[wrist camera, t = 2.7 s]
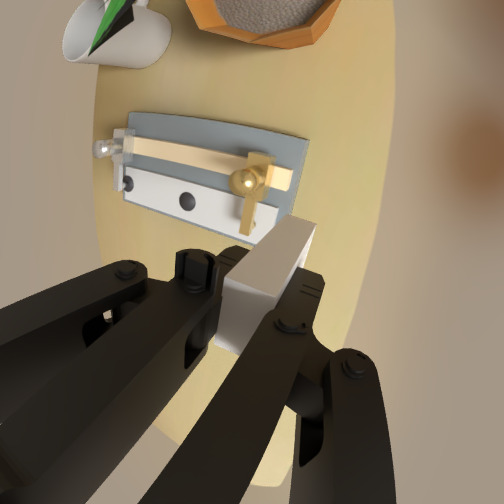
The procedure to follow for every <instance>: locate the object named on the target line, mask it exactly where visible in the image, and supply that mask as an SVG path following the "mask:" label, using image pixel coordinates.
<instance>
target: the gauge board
mask: <svg viewBox="0 0 504 504" xmlns="http://www.w3.org/2000/svg"><path fill="white" fill-rule="evenodd" d="M127 128H130V129H136V130H135V139H134V150H133V161H131V162H126V163H124V177H123V182H125V181H127V182H128V187H126V188H123V200H124V201H127V202H129V203H132V204H135V205H138V206H141V207H144V208H147V209H150V210H152V211H155V212H158V213H161V214H164V215H167V216H170V217H172V218H175V219H178V220H181V221H184V222H187V223H190V224H192V225H195V226H198V227H201V228H204V229H207V230H209V231H212V232H215V233H218V234H221V235H224V236H226V237H229V238H232V239H235V240H238V241H240V242H243V243H246V244H249V245H252V246H255V245H256V244H257V243H258V242H259V241H260V240H261V239H262V238H263V237H264V236H265V235H266V234H267V233H268V232H269V231H270V230H271V229H272V228H273V227H274V226H275V225H276V224H277V223H278V222H279V221H280V220H281V219H282V218H283V217H284V216H285V215H286V214H289V215H291V213H292V209H293V205H294V201H295V197H296V193H297V189H298V185H299V181H300V177H301V173H302V169H303V165H304V161H305V157H306V153H307V149H308V145H309V141H310V140H306V139H303V138H299V137H295V136H291V135H287V134H283V133H278V132H274V131H270V130H265V129H260V128H256V127H251V126H246V125H240V124H235V123H229V122H223V121H217V120H211V119H204V118H197V117H189V116H181V115H172V114H161V113H150V112H129V119H128V127H127ZM253 151H258V152H262V153H266V154H270V155H274V156H277V157H276V162H275V166H274V171H273V175H272V180H271V184H270V189H269V193H268V197H267V198H266V199H264V200H263V201H261V202H260V201H258V203H257V208H256V213H255V217H254V221H255V222H256V227H255V228H253V229H252V232H251V234H250V235H249V236H246V235H243V234H240V233H239V228H240V223H241V218H242V212H243V207H244V202H245V197H244V196H238V195H236V194H234V193H233V192H232V191H231V190H230V188H229V185H228V179H229V176H230V175H231V174H232V173H233V172H234V171H237V170H240V169H243V168H246V163H247V158H248V153H249V152H253Z"/></svg>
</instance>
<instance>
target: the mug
mask: <svg viewBox="0 0 504 504" xmlns="http://www.w3.org/2000/svg"><path fill="white" fill-rule="evenodd" d="M106 1H107V0H86V1H84V2H83V3H82V4H81V5H80V6H79V7H78V8H77V10H76V11H75V12H74V14H73V15H72V17H71V19H70V20H69V22H68V25H67V27H66V30H65V33H64V37H63V42H62V52H63V56H64V58H65V59H66V60H67V61H69V62H72V63H88V64H101V65H112V66H120V67H127V68H133V69H141V68H146V67H148V66H150V65H152V64H153V63H154V62H156V61H157V60H158V59H159V58H160V57H161V56H162V55H163V53H164V52H165V50H166V49H167V47H168V45H169V42H170V39H171V33H172V29H171V24H170V21H169V20H168V19H167V18H166V17H165V16H164V15H162V14H160V13H157V12H155V11H152V10H150V9H147V5H148V3H149V0H137V2H136V3H135V4H132V6H133V14H134V21H133V22H131V23H130V24H129V25H127V26H126V27H124V28H123V29H122V30H120V31H119V32H118V33H116V34H115V35H114V36H112V37H111V38H110V39H109V40H107V41H106V42H105V43H104V44H102V45H101V46H100V47H99V48H98V49H96V50H95V51H94V52H93V53H92V54H91V55H90V56H88V54H89V51H90V48H91V46H92V43H93V40H94V38H95V35H96V33H97V30H98V28H99V25H100V23H101V21H102V18H103V16H104V14H105V12H106V9H107V7H108V5H109V3H110V1H111V0H108V1H107V2H106ZM105 2H106V3H105ZM104 3H105V4H104ZM103 4H104V5H103ZM102 5H103V6H102ZM101 6H102V7H101ZM100 7H101V8H100ZM99 8H100V9H99Z"/></svg>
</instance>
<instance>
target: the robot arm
mask: <svg viewBox="0 0 504 504" xmlns="http://www.w3.org/2000/svg"><path fill="white" fill-rule="evenodd" d="M316 225H317V224H316V223H313V222H310V221H307V220H304V219H301V218H298V217H295V216H292V215H289V214H286V215H285V216H284V217H283V218H282V219H281V220H280V221H279V222H278V223H277V224H276V225H275V226H274V227H273V228H272V229H271V230H270V231H269V232H268V233H267V234H266V235H265V236H264V237H263V238H262V239H261V240H260V241H259V242H258V243H257V244H256V245H255V246H254V247H253V248H252V249H251V250H248V249H245V248H243V247H240V246H237V245H235V246H232V247H229V248H226V249H225V250H223V251H222V252H221V253H220V254H219V255H217V256H215V255H214V254H212V253H210V252H208V251H204V250H201V249H184V250H181V251H178V252H176V260H175V277H174V278H173V279H171V280H170V281H169V282H166V281H160V280H156V279H151V278H148V274H147V268H146V267H145V266H144V264H142V263H140V262H138V261H133V260H121V261H117V262H114V263H111V264H109V265H106V266H104V267H101V268H98V269H96V270H93V271H91V272H88V273H86V274H83V275H80V276H78V277H76V278H73V279H70V280H68V281H65V282H63V283H60V284H58V285H56V286H53V287H51V288H48V289H46V290H43V291H41V292H39V293H37V294H34V295H32V296H29V297H27V298H25V299H22V300H20V301H18V302H15V303H13V304H11V305H8V306H6V307H4V308H2V309H0V424H1V423H2V424H1V425H0V504H85V503H86V502H87V501H88V500H89V498H90V497H91V496H92V495H93V494H94V493H95V491H96V490H97V489H98V488H99V486H101V484H102V483H103V482H104V481H105V480H106V478H107V477H108V476H109V475H110V474H111V473H112V471H113V470H114V469H115V468H116V467H117V465H118V464H119V463H120V462H121V461H122V459H123V458H124V457H125V455H126V454H127V453H128V452H129V451H130V449H131V448H132V447H133V446H134V445H135V443H136V442H137V441H138V440H139V438H140V437H141V436H142V435H143V434H144V432H145V431H146V430H147V429H148V427H149V426H150V425H151V424H152V422H153V421H154V420H155V419H156V417H157V416H158V415H159V414H160V412H161V411H162V410H163V409H164V407H165V406H166V405H167V404H168V402H169V401H170V400H171V398H172V397H173V396H174V395H175V393H176V392H177V391H178V389H179V388H180V387H181V386H182V384H183V383H184V382H185V380H186V379H187V378H188V377H189V375H190V374H191V373H192V371H193V370H194V369H195V368H196V366H197V365H198V364H199V362H200V361H201V360H202V358H203V357H204V356H205V354H206V352H207V350H208V343H209V341H210V340H211V338H212V337H213V336H214V334H215V339H214V344H215V345H217V346H219V347H222V348H224V349H226V350H228V351H230V352H233V353H235V354H237V355H240V356H239V358H238V360H237V361H236V363H235V364H234V366H233V368H232V369H231V371H230V372H229V374H228V375H227V377H226V378H225V380H224V382H223V383H222V385H221V386H220V388H219V389H218V391H217V392H216V394H215V395H214V397H213V398H212V400H211V401H210V403H209V404H208V406H207V407H206V409H205V410H204V412H203V413H202V415H201V416H200V418H199V419H198V421H197V422H196V424H195V425H194V427H193V428H192V430H191V431H190V433H189V434H188V435H187V437H186V438H185V440H184V441H183V443H182V444H181V445H180V447H179V448H178V450H177V451H176V453H175V454H174V455H173V457H172V458H171V460H170V461H169V462H168V464H167V465H166V466H165V468H164V469H163V471H162V472H161V474H160V475H159V476H158V478H157V479H156V480H155V481H154V483H153V484H152V485H151V487H150V488H149V489H148V491H147V492H146V493H145V495H144V496H143V497H142V499H141V500H140V501H139V503H138V504H239V503H240V501H241V499H242V497H243V495H244V494H245V491H246V490H247V488H248V486H249V484H250V482H251V480H252V478H253V476H254V474H255V472H256V470H257V468H258V465H259V463H260V461H261V459H262V457H263V455H264V453H265V450H266V448H267V446H268V444H269V442H270V439H271V437H272V435H273V432H274V430H275V428H276V425H277V423H278V421H279V418H280V416H281V414H282V411H283V409H284V406H285V405H286V406H287V407H289V408H290V409H292V410H293V411H294V412H296V413H297V415H296V429H295V443H294V456H293V468H292V479H291V490H290V499H289V504H396V491H395V480H394V469H393V461H392V452H391V445H390V438H389V431H388V425H387V419H386V413H385V407H384V402H383V397H382V391H381V387H380V382H379V377H378V372H377V369H376V367H375V364H374V363H373V361H372V360H371V359H370V358H369V357H368V356H367V355H365V354H364V353H362V352H361V351H358V350H354V349H351V348H348V349H347V348H343V349H340V350H337V351H335V352H332V351H331V350H329V349H327V348H326V347H325V346H323V345H322V344H321V343H320V342H319V341H318V340H317V339H316V337H315V335H314V333H313V329H312V326H313V321H314V318H315V315H316V312H317V309H318V306H319V302H320V299H321V296H322V292H323V289H324V286H325V282H324V279H323V277H322V275H320V274H317V273H314V272H312V271H309V270H306V269H303V266H304V263H305V260H306V257H307V253H308V250H309V247H310V244H311V241H312V238H313V234H314V231H315V228H316ZM108 310H111V316H112V317H111V318H109V319H104V316H103V313H104V312H106V311H108Z"/></svg>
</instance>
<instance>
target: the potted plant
mask: <svg viewBox="0 0 504 504" xmlns="http://www.w3.org/2000/svg"><path fill="white" fill-rule="evenodd" d="M107 1H108V0H107ZM107 1H106V2H107ZM135 1H136V0H111V1H110V3H109V5H108V7H107V9H106V12H105V14H104V16H103V18H102V21H101V23H100V25H99V28H98V30H97V33H96V35H95V38H94V40H93V43H92V46H91V48H90V51H89V54H88V56H90V55H91V54H92V53H93V52H94V51H95V50H96V49H98V48H99V47H100V46H101V45H102V44H104V43H105V42H106V41H107V40H109V39H110V38H111V37H112V36H114V35H115V34H116V33H118V32H119V31H120V30H122V29H123V28H124V27H126V26H127V25H129V24H130V23H131V22H133V21H134V14H133V6H132V4H133V3H134V2H135ZM185 1H186V3H187V5H188V7H189V9H190V11H191V13H192V15H193V17H194V19H195V21H196V23H197V25H198V27H199V29H200V30H204V31H209V32H213V33H216V34H220V35H224V36H228V37H231V38H234V39H238V40H241V41H244V42H247V43H254V44H261V45H268V46H274V47H279V48H285V49H293V48H297V47H302V46H307V45H312V44H314V43H315V42H316V41H317V40H318V38H319V37H320V36H321V35H322V34H323V33H324V32H325V31H326V29H327V28H328V27H329V25H330V22H331V20H332V18H333V16H334V14H335V12H336V10H337V8H338V6H339V4H340V2H341V0H185ZM106 2H105V3H106ZM105 3H104V4H105ZM104 4H103V5H104ZM103 5H102V6H103ZM102 6H101V7H102ZM101 7H100V8H101ZM100 8H99V9H100Z"/></svg>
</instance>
